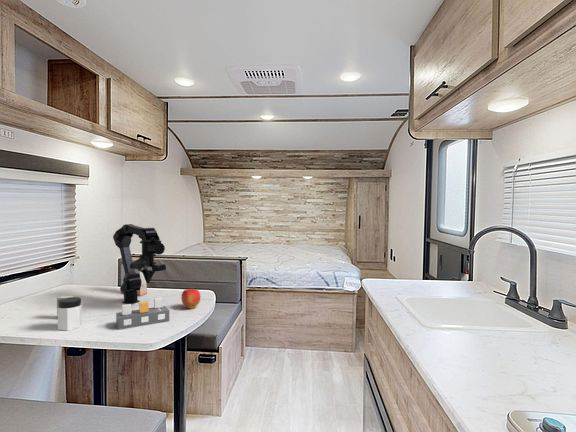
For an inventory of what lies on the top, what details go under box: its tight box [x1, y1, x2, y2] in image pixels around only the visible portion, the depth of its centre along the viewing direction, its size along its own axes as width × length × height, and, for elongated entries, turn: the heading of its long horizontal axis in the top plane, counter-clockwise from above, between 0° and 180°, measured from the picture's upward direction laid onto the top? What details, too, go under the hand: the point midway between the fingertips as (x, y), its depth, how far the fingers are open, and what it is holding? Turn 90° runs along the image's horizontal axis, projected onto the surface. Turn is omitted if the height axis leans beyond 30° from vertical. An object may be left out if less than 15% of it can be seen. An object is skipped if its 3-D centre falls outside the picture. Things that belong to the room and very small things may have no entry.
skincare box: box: [56, 294, 74, 320], centre depth 159 cm, size 5×4×10 cm
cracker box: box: [120, 257, 148, 297], centre depth 202 cm, size 14×6×21 cm, turn 71°
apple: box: [180, 288, 201, 310], centre depth 177 cm, size 10×10×10 cm
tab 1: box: [121, 304, 132, 315], centre depth 150 cm, size 2×4×4 cm, turn 123°
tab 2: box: [138, 301, 150, 313], centre depth 153 cm, size 2×4×4 cm, turn 123°
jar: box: [57, 296, 83, 332], centre depth 148 cm, size 9×8×12 cm
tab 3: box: [153, 297, 164, 308], centre depth 160 cm, size 2×4×4 cm, turn 123°
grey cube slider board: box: [115, 305, 170, 330], centre depth 155 cm, size 8×21×5 cm, turn 123°
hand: (147, 283), depth 175 cm, fingers closed
